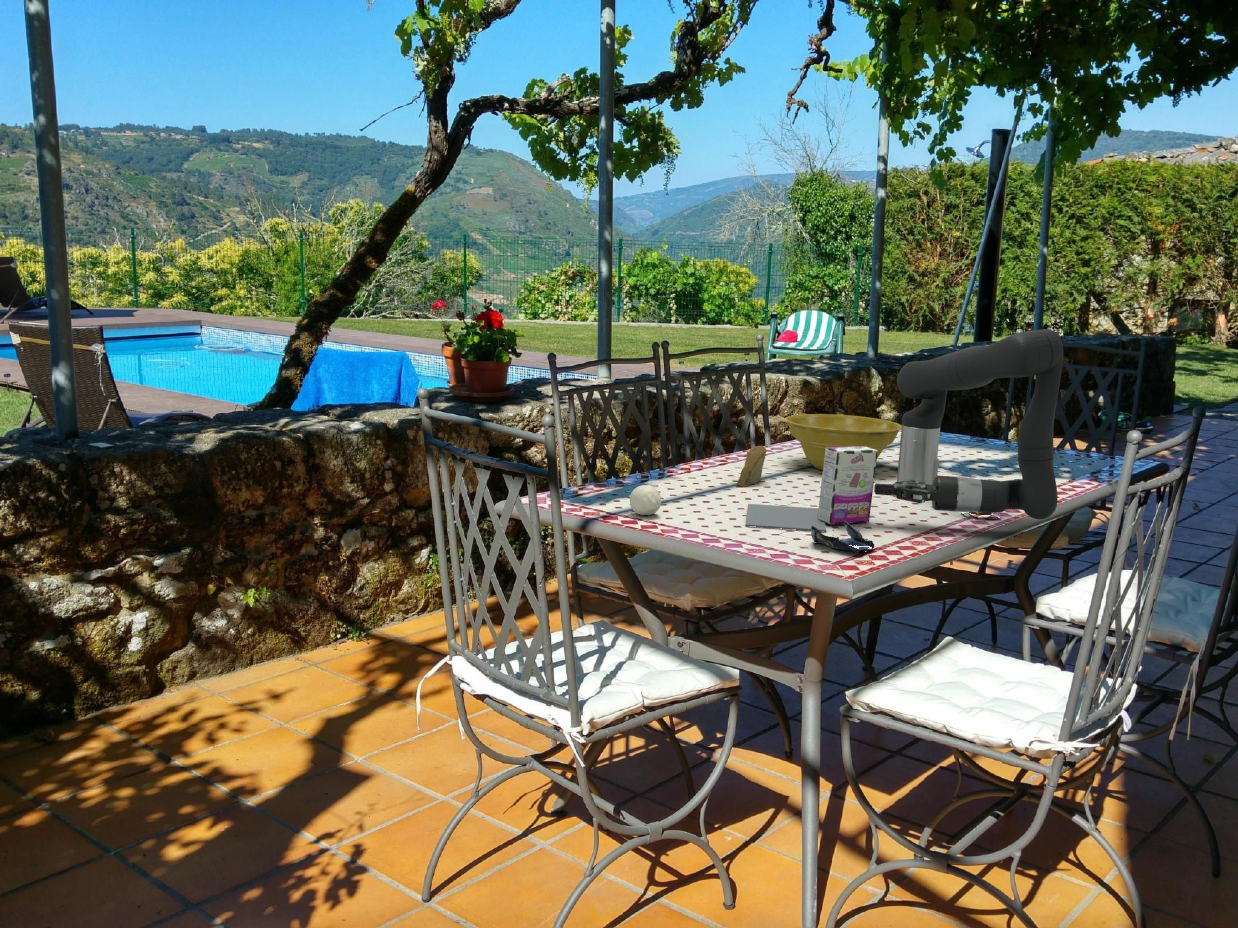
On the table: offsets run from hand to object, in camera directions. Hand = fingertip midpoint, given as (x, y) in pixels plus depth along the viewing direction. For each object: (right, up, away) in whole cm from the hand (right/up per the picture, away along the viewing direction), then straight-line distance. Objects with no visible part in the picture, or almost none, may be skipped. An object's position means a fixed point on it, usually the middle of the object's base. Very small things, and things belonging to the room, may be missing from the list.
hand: (874, 488), depth 225 cm
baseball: (-50, -6, +3) cm, 50 cm away
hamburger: (+28, -7, +13) cm, 31 cm away
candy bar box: (-7, -7, +2) cm, 10 cm away
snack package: (-11, -12, -19) cm, 25 cm away
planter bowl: (+6, +4, +64) cm, 65 cm away
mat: (-19, -7, +4) cm, 20 cm away
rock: (-23, 0, +41) cm, 47 cm away
